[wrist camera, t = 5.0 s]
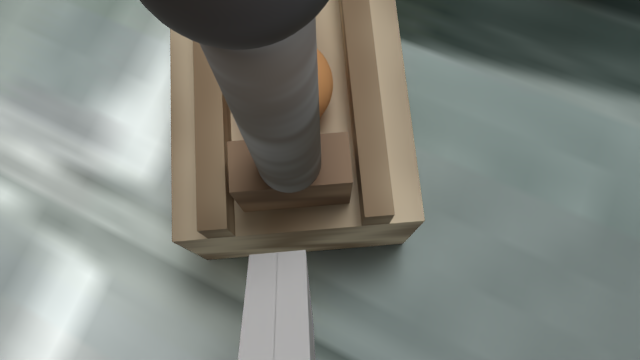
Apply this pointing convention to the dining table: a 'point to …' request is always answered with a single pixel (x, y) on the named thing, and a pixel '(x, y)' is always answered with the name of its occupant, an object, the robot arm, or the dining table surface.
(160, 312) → the dining table surface
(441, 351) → the dining table surface
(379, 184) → the launcher
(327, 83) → the ball
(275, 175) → the plunger
